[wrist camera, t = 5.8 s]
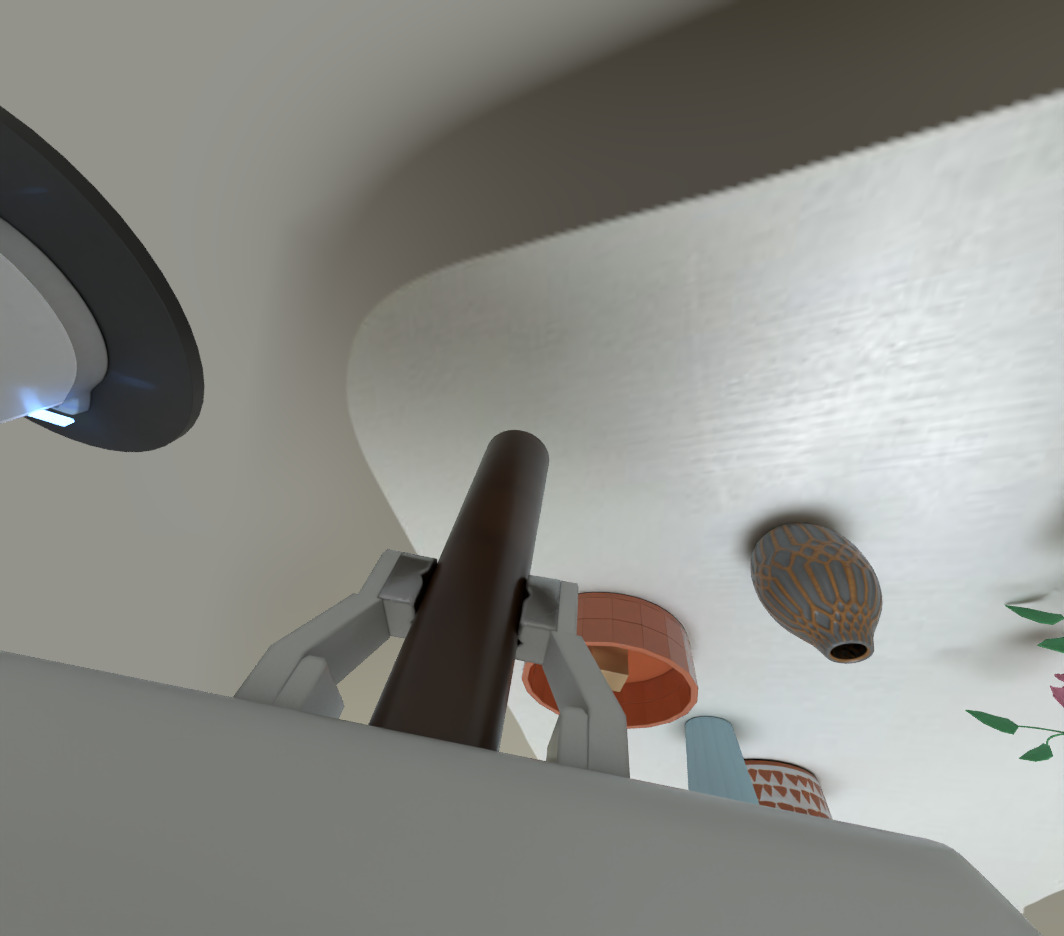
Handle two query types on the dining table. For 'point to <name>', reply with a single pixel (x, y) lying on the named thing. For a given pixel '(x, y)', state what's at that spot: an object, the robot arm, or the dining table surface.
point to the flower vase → (1060, 694)
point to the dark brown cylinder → (472, 606)
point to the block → (612, 664)
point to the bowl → (633, 658)
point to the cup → (716, 760)
